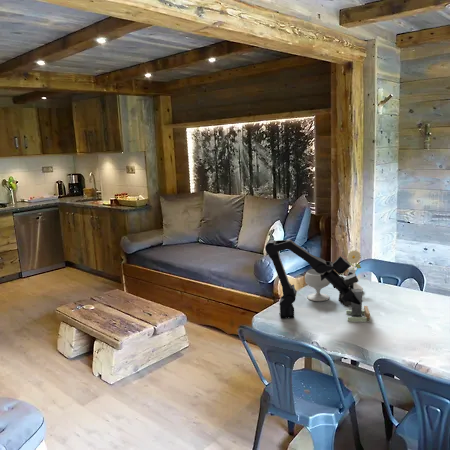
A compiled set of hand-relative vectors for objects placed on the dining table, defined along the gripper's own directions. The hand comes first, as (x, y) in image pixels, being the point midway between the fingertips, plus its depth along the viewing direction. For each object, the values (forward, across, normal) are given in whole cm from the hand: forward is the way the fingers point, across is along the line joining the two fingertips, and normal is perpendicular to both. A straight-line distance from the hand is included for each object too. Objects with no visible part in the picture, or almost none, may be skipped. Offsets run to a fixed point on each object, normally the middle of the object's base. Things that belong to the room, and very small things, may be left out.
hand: (359, 302), depth 208 cm
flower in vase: (+6, +35, +5) cm, 36 cm away
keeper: (+5, 0, +6) cm, 8 cm away
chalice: (-8, +26, +19) cm, 33 cm away
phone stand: (+3, +19, +9) cm, 21 cm away
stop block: (+4, 0, +6) cm, 7 cm away
